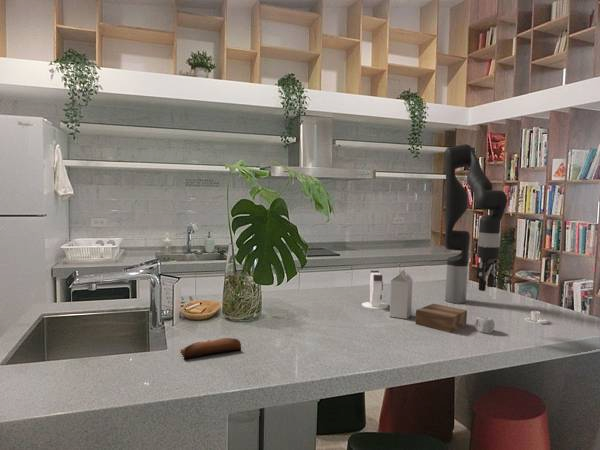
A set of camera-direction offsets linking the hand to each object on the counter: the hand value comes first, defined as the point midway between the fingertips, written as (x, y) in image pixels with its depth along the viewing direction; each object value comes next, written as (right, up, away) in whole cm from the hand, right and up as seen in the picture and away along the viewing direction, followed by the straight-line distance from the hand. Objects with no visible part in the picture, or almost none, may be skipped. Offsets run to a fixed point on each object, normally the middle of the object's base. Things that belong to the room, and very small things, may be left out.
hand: (486, 288), depth 165 cm
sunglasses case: (-97, -17, -25) cm, 101 cm away
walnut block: (-14, -15, +8) cm, 22 cm away
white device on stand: (-35, -13, +34) cm, 51 cm away
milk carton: (-27, -14, +19) cm, 36 cm away
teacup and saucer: (+24, -16, +14) cm, 32 cm away
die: (0, -16, +1) cm, 16 cm away
